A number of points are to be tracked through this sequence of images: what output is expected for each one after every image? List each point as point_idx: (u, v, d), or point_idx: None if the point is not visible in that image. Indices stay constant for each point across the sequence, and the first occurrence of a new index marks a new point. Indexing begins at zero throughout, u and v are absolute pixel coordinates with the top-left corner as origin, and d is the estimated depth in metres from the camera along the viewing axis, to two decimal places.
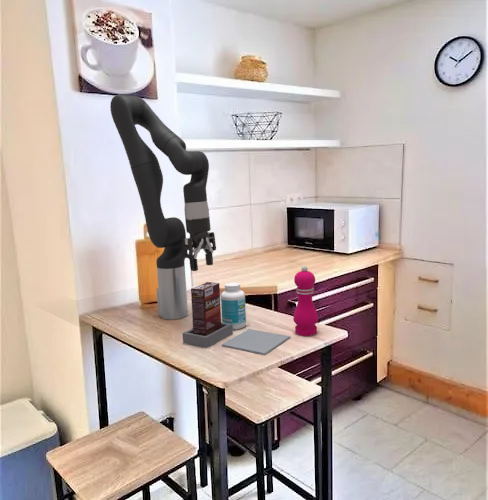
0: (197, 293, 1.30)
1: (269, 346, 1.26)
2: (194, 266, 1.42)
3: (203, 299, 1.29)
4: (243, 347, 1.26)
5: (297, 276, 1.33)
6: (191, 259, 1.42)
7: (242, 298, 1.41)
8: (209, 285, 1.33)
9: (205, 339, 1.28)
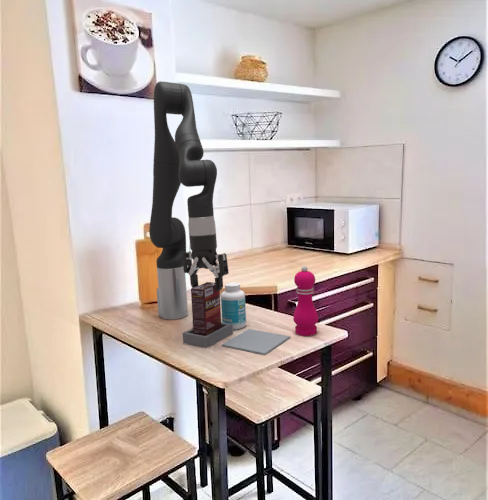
0: (197, 293, 1.30)
1: (269, 346, 1.26)
2: None
3: (203, 299, 1.29)
4: (243, 347, 1.26)
5: (297, 276, 1.33)
6: (221, 277, 1.30)
7: (242, 298, 1.41)
8: (209, 285, 1.33)
9: (205, 339, 1.28)
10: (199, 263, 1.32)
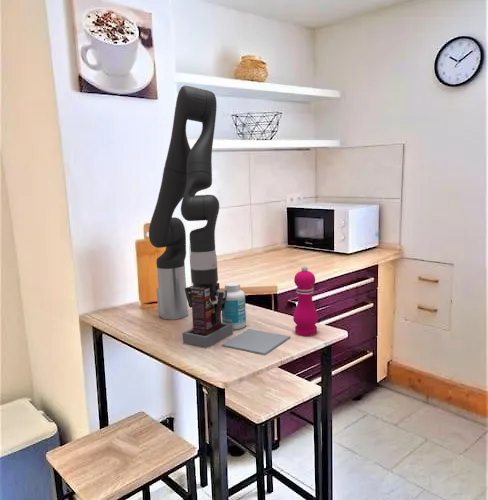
0: (197, 293, 1.30)
1: (269, 346, 1.26)
2: None
3: (203, 299, 1.29)
4: (243, 347, 1.26)
5: (297, 276, 1.33)
6: (218, 312, 1.32)
7: (242, 298, 1.41)
8: None
9: (205, 339, 1.28)
10: None
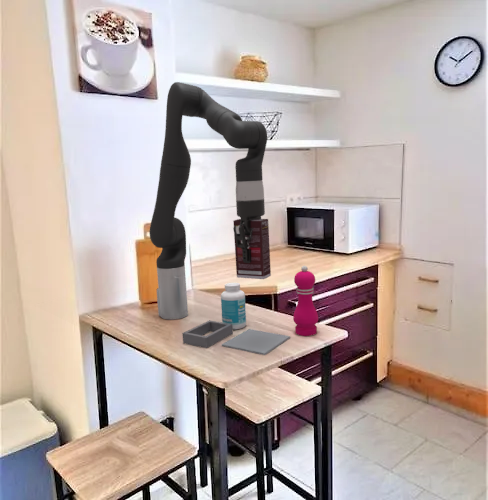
0: (265, 223, 1.24)
1: (269, 346, 1.26)
2: None
3: (268, 229, 1.26)
4: (243, 347, 1.26)
5: (297, 276, 1.33)
6: None
7: (242, 298, 1.41)
8: None
9: (205, 339, 1.28)
10: None
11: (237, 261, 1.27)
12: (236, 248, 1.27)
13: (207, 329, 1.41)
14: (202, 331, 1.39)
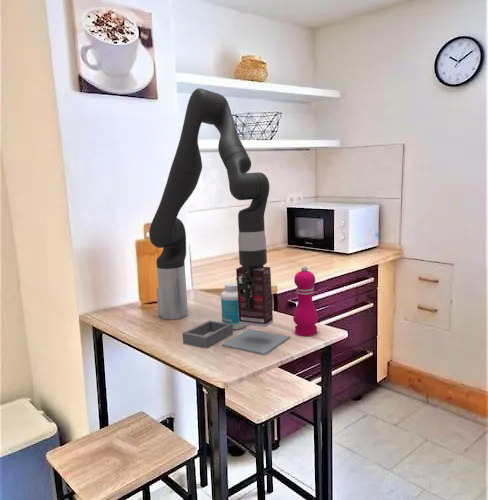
0: (267, 272, 1.26)
1: (269, 346, 1.26)
2: None
3: (270, 277, 1.28)
4: (243, 347, 1.26)
5: (297, 276, 1.33)
6: None
7: None
8: None
9: (205, 339, 1.28)
10: None
11: (240, 308, 1.29)
12: (239, 295, 1.29)
13: (207, 329, 1.41)
14: (202, 331, 1.39)
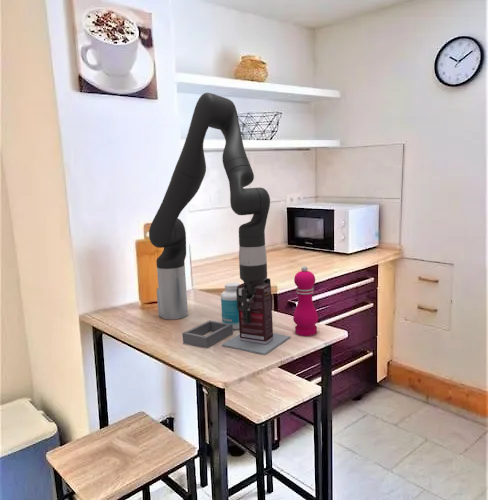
0: (267, 290, 1.27)
1: (269, 346, 1.26)
2: None
3: (270, 294, 1.29)
4: (243, 347, 1.26)
5: (297, 276, 1.33)
6: None
7: None
8: None
9: (205, 339, 1.28)
10: None
11: (240, 325, 1.30)
12: (239, 312, 1.30)
13: (207, 329, 1.41)
14: (202, 331, 1.39)
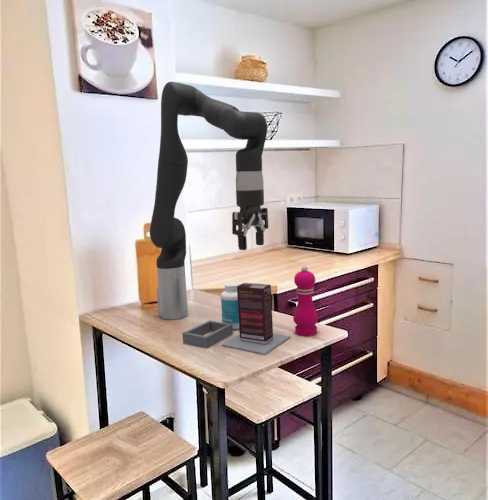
0: (267, 290, 1.27)
1: (269, 346, 1.26)
2: None
3: (270, 294, 1.29)
4: (243, 347, 1.26)
5: (297, 276, 1.33)
6: None
7: None
8: (253, 284, 1.30)
9: (205, 339, 1.28)
10: None
11: (240, 325, 1.30)
12: (239, 312, 1.30)
13: (207, 329, 1.41)
14: (202, 331, 1.39)
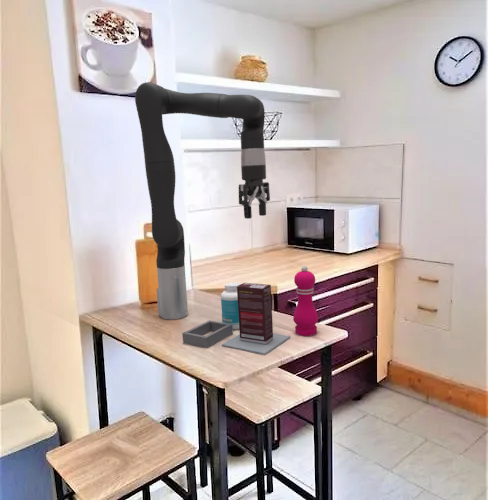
0: (267, 290, 1.27)
1: (269, 346, 1.26)
2: None
3: (270, 294, 1.29)
4: (243, 347, 1.26)
5: (297, 276, 1.33)
6: None
7: None
8: (253, 284, 1.30)
9: (205, 339, 1.28)
10: None
11: (240, 325, 1.30)
12: (239, 312, 1.30)
13: (207, 329, 1.41)
14: (202, 331, 1.39)
